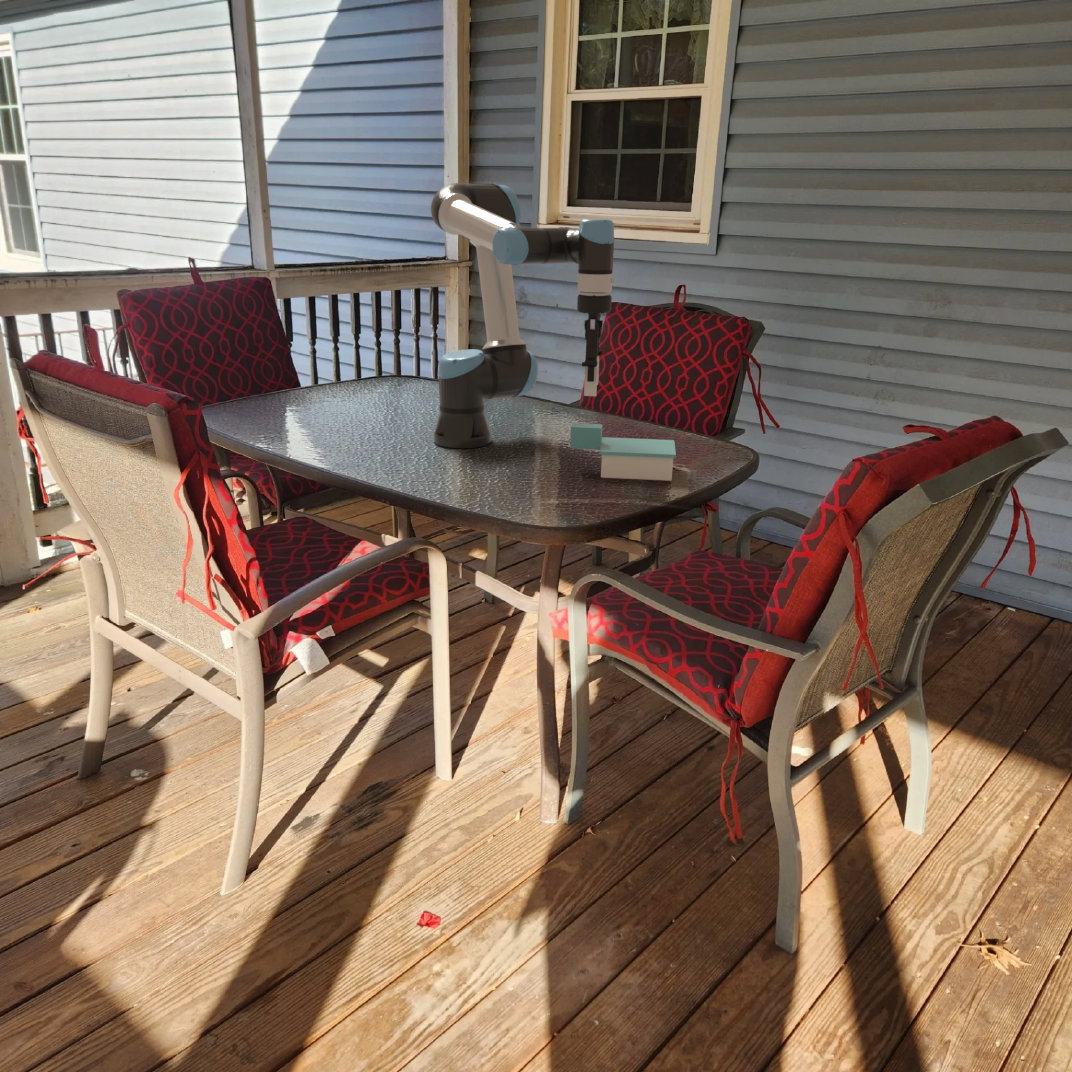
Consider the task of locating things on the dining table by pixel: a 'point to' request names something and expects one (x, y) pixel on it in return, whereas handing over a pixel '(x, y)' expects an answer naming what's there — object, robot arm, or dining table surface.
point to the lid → (618, 443)
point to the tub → (636, 467)
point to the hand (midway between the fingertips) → (591, 390)
